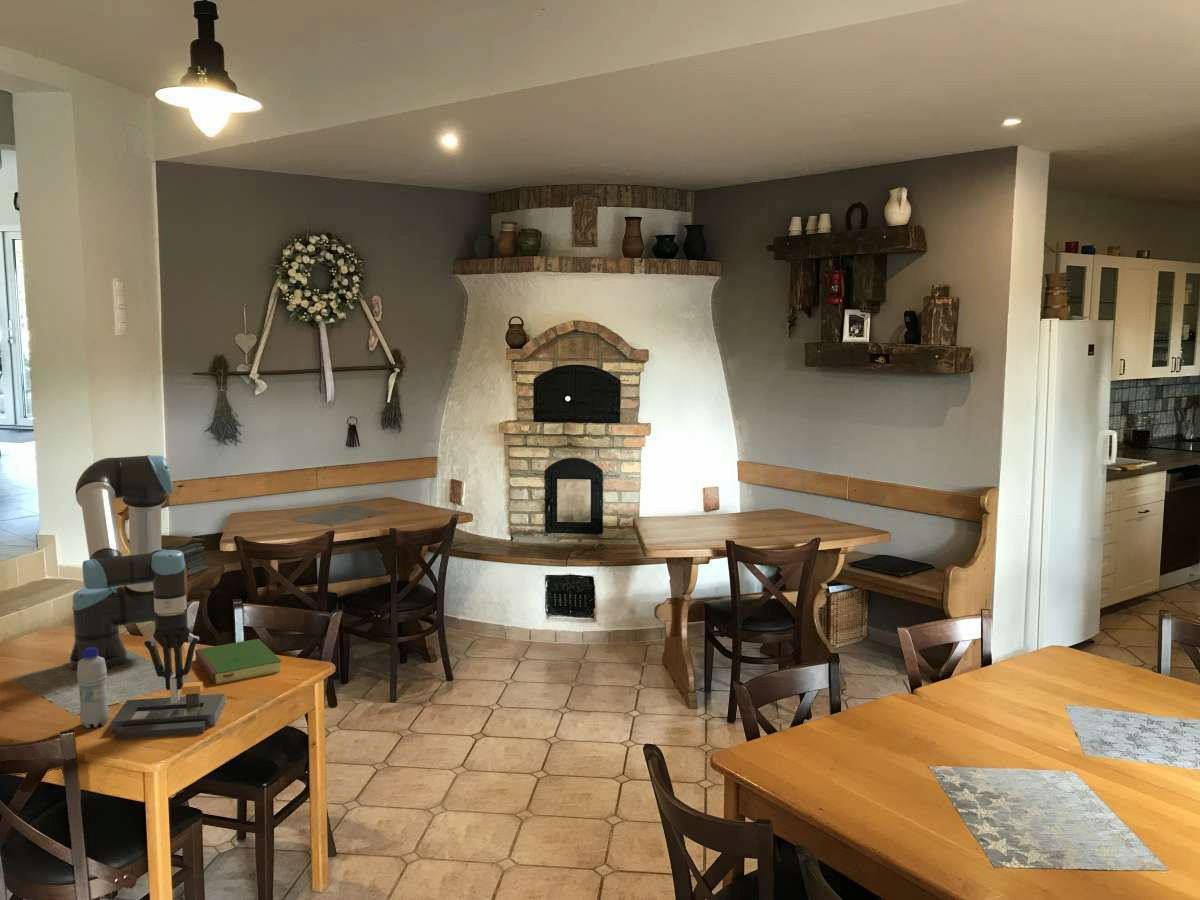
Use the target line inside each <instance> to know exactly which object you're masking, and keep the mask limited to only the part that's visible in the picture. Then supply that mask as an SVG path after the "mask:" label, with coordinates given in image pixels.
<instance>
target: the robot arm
mask: <svg viewBox="0 0 1200 900" xmlns="http://www.w3.org/2000/svg"><path fill="white" fill-rule="evenodd" d="M75 486H76V487H75V499H76V502H77V504H78V505H79V506H80V507H81V511H82V512H81V513H82V518H83V524H84V531H85V538H86V546H87V551H88V556H89V557H88V558H89V559H86V560H84V561H83V562H82V564H81V565H82V580H83V581H82V582H83V585H84V587H82V588H79V589H77V591H75V592H74V594H73V595H72V606H71V608H72V612H73V628H74V630H73V631H74V632H73V633H74V643H73V646H72V648H71V652H70V655H69V668H70V669H71V670H75V671H77V666H78V662H79V661H80V660H82V659H83V651H84V649H86V648H90V647H94V648H97V649H98V656H99V657H103V658H104V659H105V664H106V669H109V668H113V667H117V666H119V665H122V664H123V663H125V662H126V661H127V658H128V656H127V649H126V648H125V645H124V643H123V640H122V638H121V637H120V633H119V632H120V631H119V626H128V625H134V624H139V623H140V624H141V623H147V622H154V628H155V629H154V633H153V634H152V635H153V636H152V637H149V638H147V639H146V640H145V641H144V646H145V647H146V648H147V650H148V651H149V654H150V657H151V661H152V664H153V666H154V670H155V673H156V675H157V677H159V678H160V677H162V678H164V680H165V689H166V691H169V692H170V693H169V694H170V695H169V696H170V697H171V704H173V703H178V701H179V699H180V698H179V697H180V690H182V686H183V684H184V676H188V675H189V673H190V671H191V668H192V664H193V660H194V654H195V650H196V645H197V643H198V642H199V641H200V636H199V635H194V634H193V633H191V630H190V629H189V627H188V626H189V625H188V611H187V609H188V606H187V590H186V562H185V556H184V553H183V551H181V550H177V549H164V548H162V506H163V505H164V504H165V503H167V500H168V499H167V496H170V495H172V494H173V491H174V490H173V481H172V476H171V473H170V468H169V463H168V461H167V459H166V458H165V456H163V455H150V454H147V455H140V456H139V455H136V456H135V455H134V456H124V457H123V456H121V457H106V458H105V457H104V458H101V459H100V460H97V461H94V462H93V463H92V464H90V465H89V466H88V467H87V468H86V469H85V470H84V471H83V472H82V473H81V475H80V476H79V478H78V481H77V483H76V485H75ZM115 499H122V503H123V504H124V505H125V506H127V507H128V532H129V533H128V534H129V535H128V536H129V555H123V551H122V546H121V540H120V535H119V530H118V524H117V517H116V513H115V508H114V501H115ZM187 640H188V644H189V645H188V648H187V649H188V650H187V652H186V653H187V654H186V658H185V663H184V666H183V650H182V649H183V645H184V643H185V642H186V641H187ZM157 643H158V644H159V645H160V646H161V648H162V653H163V662H162V659H161V655H160V653H159V649H158V647H157V645H156V644H157ZM172 649H173V653H174V667H175V668H174V669H175V670H174V671H175V674H173V666H172V664H173V663H172V661H173V660H172Z"/></svg>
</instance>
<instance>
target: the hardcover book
mask: <svg viewBox="0 0 1200 900" xmlns="http://www.w3.org/2000/svg"><path fill="white" fill-rule="evenodd" d="M194 654H195V661H196V663H197V664H198V665H199V667H200V668H201V669H202V671H203V672H204V673H205V675H206V676H207V677H208V679H209V680H210V681H211V683H212V684H213V685H214V686H215V685H217V684H223V683H227V682H228V683H229V682H233V681H240V680H245V679H250V678H255V677H260V676H264V675H265V676H266V675H270V674H275V673H281V671H282V669H281V662H282V660H281V659H280V658H279V657H278V656H277V655H276V654H275V653H274V652H273V651H272V650H271V649H270V648H269V647H268V646H267V645H266V644H265V643H264V642H263V641H262V640H261V639H260V638H256V639H249V640H244V641H237V642H231V643H227V644H221V645H216V646H209V647H204V648H199V649H195V650H194Z"/></svg>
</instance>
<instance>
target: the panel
mask: <svg viewBox="0 0 1200 900" xmlns="http://www.w3.org/2000/svg"><path fill="white" fill-rule="evenodd" d="M179 698H180V699H179V701H178V703H173V704H171V696H170V697H169V696H168V697H157V698H155V697H153V698H141V699H126V701H125V702H124V704H123V705H122V706H121V708H119V710H118V712H117V713H116V714H115V716H114V717H113V718H112V720H111V721H110V726H111V727H110V728H111V729H110V730H111V734H115V732H116V731H117V729H118V728H119V727H123V726H137V725H151V724H165V723H179V722H192V721H206V727H215V726H216V724H217V723H218V720H219V718H220V716H221V715H222V712H223V710H224V708H225V706H226V693H217V694H215V693H214V694H200V705H201V707H194V708H186V695H185V696H184V695H183V696H179Z"/></svg>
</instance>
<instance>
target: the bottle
mask: <svg viewBox="0 0 1200 900" xmlns="http://www.w3.org/2000/svg"><path fill="white" fill-rule="evenodd" d="M107 671H108V668H106V664H105V659H104V658H103V657H99V656H98V649H97V648H94V647H90V648H86V649H84V651H83V659H82V660H80V661H79V662H78V666H77V670H76V677H77V679H76V680H77V682H78V688H79V702H80V703H79V704H80V705H79V707H80V709H79V717H80V723H81V725H82V726H83V727H86V728H87V729H90V728H91V726H92V725H93V727H94V728H98V727H99V725H100V726H104V725H105V724H107V723H106V722H108V720H109V717H110V716H109V705H108V698H107V697H108V696H107V695H108V693H107V677H108V674H107V673H108V672H107Z"/></svg>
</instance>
